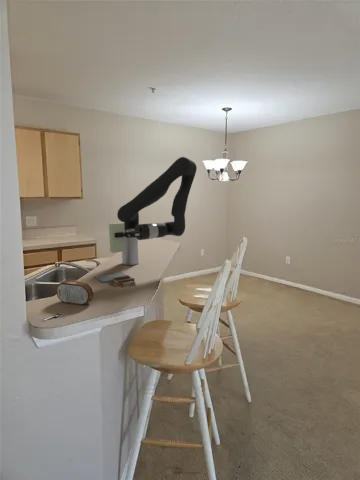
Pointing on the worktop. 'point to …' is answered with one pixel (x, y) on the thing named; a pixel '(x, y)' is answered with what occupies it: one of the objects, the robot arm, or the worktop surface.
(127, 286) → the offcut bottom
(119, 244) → the sage green upright pillar
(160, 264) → the worktop surface
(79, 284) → the tin
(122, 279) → the rack
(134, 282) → the offcut top
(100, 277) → the mat
